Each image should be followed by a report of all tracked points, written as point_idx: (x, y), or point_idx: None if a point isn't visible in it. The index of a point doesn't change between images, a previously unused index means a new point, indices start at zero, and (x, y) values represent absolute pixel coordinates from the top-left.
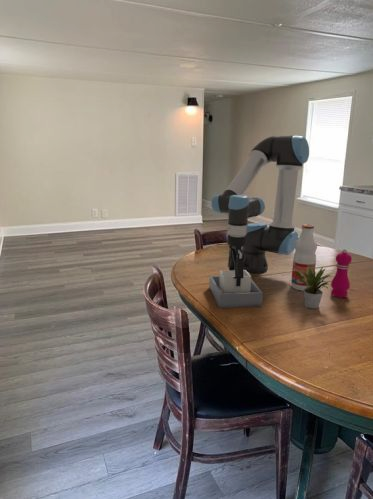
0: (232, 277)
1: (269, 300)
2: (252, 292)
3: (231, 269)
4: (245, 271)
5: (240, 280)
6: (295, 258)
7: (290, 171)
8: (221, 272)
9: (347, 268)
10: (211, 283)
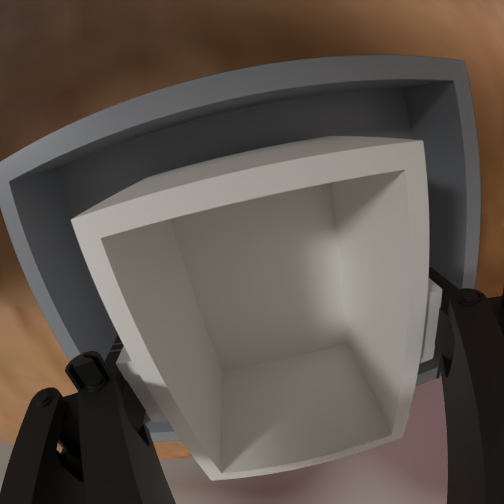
0: (413, 381)
1: (301, 3)
2: (465, 146)
3: (138, 413)
4: (145, 224)
5: (455, 289)
6: None
7: None
8: (264, 472)
9: None
10: None
